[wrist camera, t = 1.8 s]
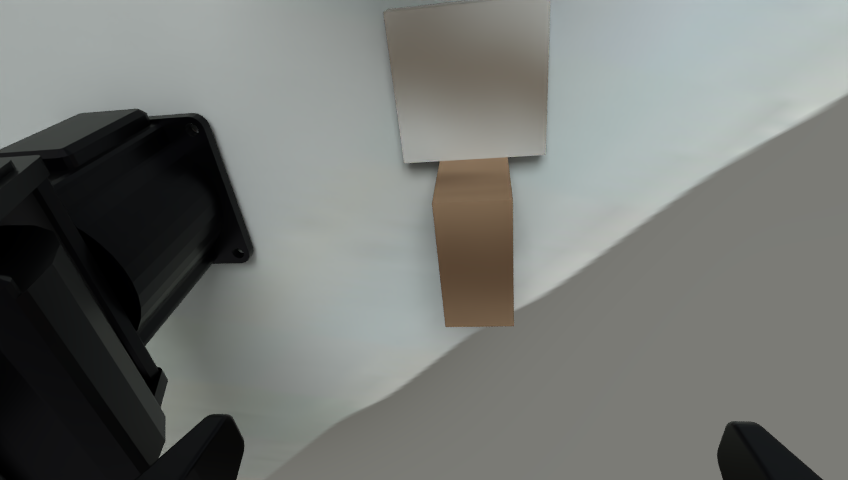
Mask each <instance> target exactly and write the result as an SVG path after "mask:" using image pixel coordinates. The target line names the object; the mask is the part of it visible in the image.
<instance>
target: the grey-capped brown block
mask: <svg viewBox="0 0 848 480" xmlns="http://www.w3.org/2000/svg"><path fill="white" fill-rule="evenodd" d="M383 13H384V21H385V28H386V35H387V43H388V50H389V57H390V64H391V72H392V79H393V86H394V93H395V101H396V108H397V115H398V122H399V130H400V137H401V144H402V151H403V159H404V163H418V162H434V161H440V163H439V168H438V174H437V179H436V185H435V190H434V196H433V201H432V207H433V216H434V225H435V235H436V244H437V253H438V262H439V271H440V280H441V289H442V298H443V308H444V317H445V326H446V327H483V326H514V294H513V198H512V190H511V181H510V173H509V164H508V157H519V156H536V155H546V125H547V93H548V60H549V27H550V0H468V1H458V2H449V3H439V4H430V5H420V6H411V7H401V8H392V9H387V10H386V11H384V12H383Z"/></svg>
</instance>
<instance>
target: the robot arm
mask: <svg viewBox="0 0 848 480" xmlns="http://www.w3.org/2000/svg"><path fill="white" fill-rule="evenodd" d="M190 123H192V124H194V125H195V126H196V127H197V128H198V132H199V133H198V132H195V131H194V130H193V129H192V128H191V124H190ZM237 249H240V250H242V251H243V253H241V252H239V251H238V250H237ZM252 254H253V247H252V244H251V241H250V238H249V236H248V233H247V230H246V227H245V224H244V221H243V219H242V216H241V213H240V210H239V207H238V205H237V202H236V199H235V196H234V193H233V190H232V188H231V185H230V182H229V179H228V176H227V173H226V171H225V168H224V165H223V162H222V159H221V156H220V154H219V151H218V148H217V145H216V142H215V139H214V137H213V134H212V131H211V128H210V125H209V123H208V122H207V120H206V119H205V118H204V117H203V116H201V115H199V114H196V113H187V114H175V115H162V116H149V117H148V116H147V113H145V112H143V111H141V110H139V109H128V110H116V111H104V112H91V113H81V114H78V115H76V116H73V117H71V118H69V119H67V120H64V121H62V122H60V123H58V124H56V125H53V126H51V127H49V128H47V129H44V130H42V131H40V132H38V133H36V134H33V135H31V136H29V137H27V138H24V139H22V140H20V141H18V142H16V143H13V144H11V145H9V146H7V147H4V148H2V149H0V480H236V479H237V475H238V471H239V468H240V464H241V460H242V457H243V453H244V440H243V437H242V435H241V433H240V431H239V429H238V427H237V425H236V423H235V421H234V419H233V417H232V416H230V415H228V414H212V415H209V416H207V417H206V418H204V419H203V420H202V421H201V422H200V423H199V424H197V425H196V426H195V427H194V428H193V429H192V430H191V431H189V432H188V433H187V434H186V435H185V436H184V437H183V438H182V439H180V440H179V441H178V442H177V443H176V444H175V445H174V446H172V447H171V448H170V449H169V450H168V451H167V452H166V453H165V454H163V455H162V456H161V457H160V458H159V456H160V453H161V451H162V448H163V445H164V443H165V415H164V413H163V411H162V410H161V404H162V400H163V397H164V393H165V389H166V386H167V382H168V379H167V377H166V376H165V374H164V372H163V370H162V369H161V368H159V367H157V366H156V365H155V363H154V361H153V360H152V358H151V356H150V354H149V353H148V351H147V349H146V347H145V345H146V344H147V343H148V342H149V341H150V339H151V338H152V337H153V336H154V334H155V333H156V332H157V331H158V330H159V328H160V327H161V326H162V325H163V323H164V322H165V321H166V320H167V319H168V317H169V316H170V315H171V314H172V312H173V311H174V310H175V309H176V308H177V306H178V305H179V304H180V303H181V301H182V300H183V299H184V298H185V296H186V295H187V294H188V293H189V292H190V290H191V289H192V288H193V287H194V285H195V284H196V283H197V282H198V281H199V279H200V278H201V277H202V276H203V274H204V273H205V272H206V271H207V270H208V268H209V267H210V266H211V265H212V264H221V263H244V262H246V261H248V260H249V258H250V257H251V255H252ZM158 458H159V459H158ZM717 458H718V464H719V468H720V471H721V474H722V478H723V480H823V479H822V478H820V477H819V476H818V475H817V474H816V473H815V472H813V471H812V470H811V469H810V468H809V467H808V466H807V465H805V464H804V463H803V462H802V461H801V460H799V459H798V458H797V457H796V456H795V455H794V454H793V453H791V452H790V451H789V450H788V449H787V448H786V447H785V446H784V445H782V444H781V443H780V442H779V441H778V440H777V439H775V438H774V437H773V436H772V435H771V434H770V433H769V432H767V431H766V430H765V429H764V428H763V427H762V426H760V425H759V424H757V423H755V422H737V421H733V422H730V423H728V424H727V426H726V428H725V431H724V434H723V436H722V439H721V442H720V445H719V448H718V453H717Z"/></svg>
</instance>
